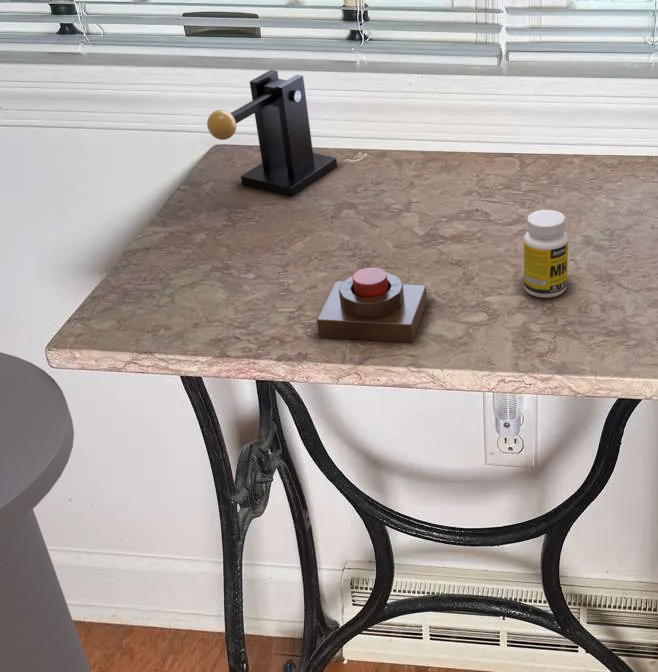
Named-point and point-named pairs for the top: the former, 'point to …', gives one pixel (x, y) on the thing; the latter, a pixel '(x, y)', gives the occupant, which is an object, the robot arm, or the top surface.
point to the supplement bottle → (545, 254)
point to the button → (370, 282)
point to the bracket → (285, 140)
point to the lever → (241, 112)
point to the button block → (373, 312)
